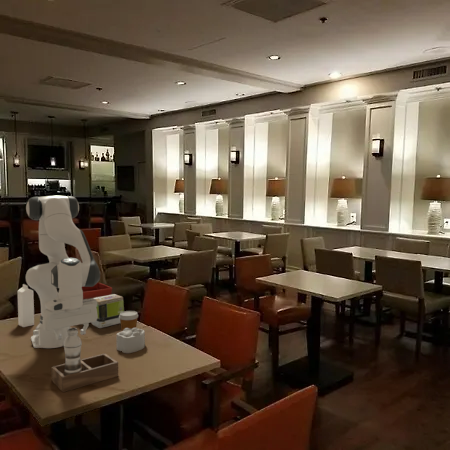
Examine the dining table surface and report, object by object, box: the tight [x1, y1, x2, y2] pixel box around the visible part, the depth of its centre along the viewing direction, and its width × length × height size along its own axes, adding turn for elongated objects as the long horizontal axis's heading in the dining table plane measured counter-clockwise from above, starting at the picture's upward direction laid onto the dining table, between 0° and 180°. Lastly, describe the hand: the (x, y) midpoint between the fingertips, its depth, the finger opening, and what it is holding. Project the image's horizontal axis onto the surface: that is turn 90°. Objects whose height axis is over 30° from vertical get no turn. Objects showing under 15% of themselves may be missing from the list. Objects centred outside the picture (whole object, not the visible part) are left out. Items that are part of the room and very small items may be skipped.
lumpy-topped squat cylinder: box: [116, 327, 146, 354], centre depth 205 cm, size 10×13×9 cm
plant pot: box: [82, 282, 113, 299], centre depth 254 cm, size 19×19×17 cm
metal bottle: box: [63, 327, 83, 376], centre depth 168 cm, size 6×7×20 cm
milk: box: [17, 283, 35, 328], centre depth 235 cm, size 6×6×22 cm
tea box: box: [90, 293, 125, 329], centre depth 239 cm, size 15×10×15 cm, turn 132°
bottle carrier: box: [51, 353, 119, 393], centre depth 172 cm, size 12×22×6 cm, turn 131°
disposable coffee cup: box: [119, 310, 139, 331], centre depth 219 cm, size 10×10×12 cm
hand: (71, 336), depth 167 cm, fingers open, 8 cm apart
